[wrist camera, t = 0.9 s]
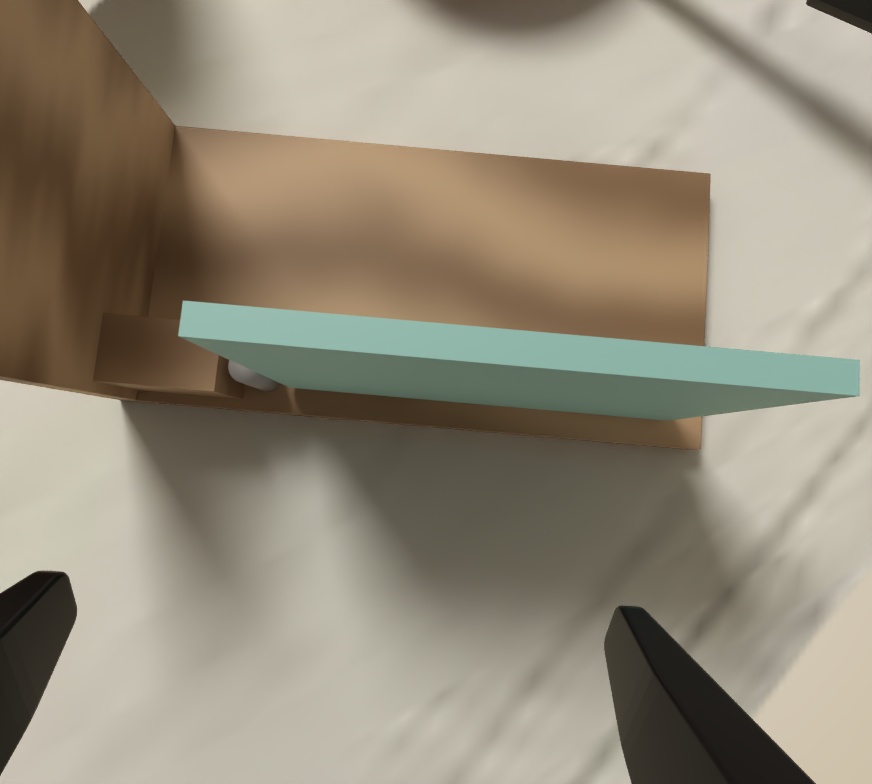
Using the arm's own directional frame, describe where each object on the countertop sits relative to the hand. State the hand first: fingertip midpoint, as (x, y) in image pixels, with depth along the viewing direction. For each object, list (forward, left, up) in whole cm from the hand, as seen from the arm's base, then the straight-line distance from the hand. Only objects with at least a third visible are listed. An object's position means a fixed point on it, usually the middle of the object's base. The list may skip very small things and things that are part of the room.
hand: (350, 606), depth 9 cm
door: (+5, -2, -13) cm, 14 cm away
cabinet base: (+9, 0, -14) cm, 17 cm away
